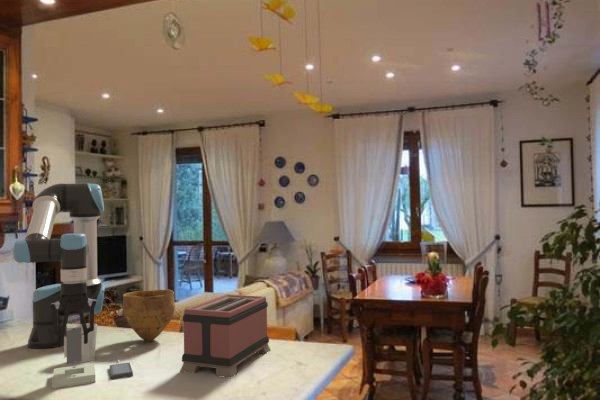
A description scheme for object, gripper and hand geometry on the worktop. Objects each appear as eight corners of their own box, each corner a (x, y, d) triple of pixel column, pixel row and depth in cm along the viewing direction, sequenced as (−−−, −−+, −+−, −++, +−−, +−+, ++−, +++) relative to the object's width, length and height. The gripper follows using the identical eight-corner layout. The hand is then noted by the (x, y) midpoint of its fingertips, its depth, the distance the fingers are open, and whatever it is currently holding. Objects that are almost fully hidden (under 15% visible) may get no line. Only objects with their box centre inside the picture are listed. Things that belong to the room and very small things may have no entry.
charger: (67, 359, 156) (66, 327, 156) (81, 357, 157) (81, 326, 157) (66, 363, 152) (66, 330, 152) (81, 361, 153) (81, 329, 154)
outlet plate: (54, 376, 158) (54, 368, 158) (94, 370, 163) (94, 362, 163) (52, 388, 147) (52, 380, 147) (95, 382, 152) (95, 373, 152)
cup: (88, 363, 170) (88, 329, 170) (68, 362, 172) (68, 328, 172) (102, 356, 178) (101, 323, 178) (82, 355, 179) (82, 322, 180)
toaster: (274, 348, 186) (273, 294, 186) (231, 378, 154) (230, 313, 154) (229, 343, 193) (229, 292, 193) (179, 371, 161) (179, 309, 161)
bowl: (112, 343, 195) (111, 293, 195) (153, 332, 212) (152, 286, 212) (145, 351, 183) (144, 298, 183) (185, 339, 200) (185, 290, 200)
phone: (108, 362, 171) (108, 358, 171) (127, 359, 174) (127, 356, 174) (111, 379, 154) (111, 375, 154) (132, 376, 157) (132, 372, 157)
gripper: (42, 285, 148) (42, 362, 148) (103, 281, 155) (103, 354, 155) (44, 282, 155) (44, 355, 154) (102, 278, 162) (102, 348, 162)
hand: (74, 355), depth 155 cm, fingers closed on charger, 4 cm apart
